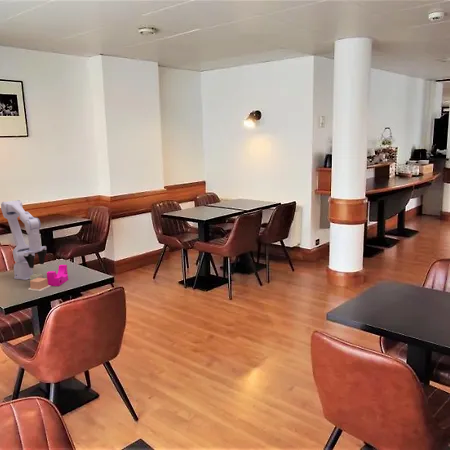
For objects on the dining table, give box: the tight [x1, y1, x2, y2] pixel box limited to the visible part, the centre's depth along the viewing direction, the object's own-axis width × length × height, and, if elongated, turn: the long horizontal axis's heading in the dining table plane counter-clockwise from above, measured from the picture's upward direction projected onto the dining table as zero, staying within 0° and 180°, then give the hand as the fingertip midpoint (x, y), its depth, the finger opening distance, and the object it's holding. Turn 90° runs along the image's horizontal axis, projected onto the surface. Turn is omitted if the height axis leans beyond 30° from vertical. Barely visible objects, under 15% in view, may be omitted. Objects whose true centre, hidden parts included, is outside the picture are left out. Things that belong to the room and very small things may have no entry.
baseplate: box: [27, 285, 52, 292], centre depth 237 cm, size 8×8×1 cm
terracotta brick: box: [29, 277, 48, 289], centre depth 237 cm, size 6×6×4 cm
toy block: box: [46, 264, 69, 287], centre depth 247 cm, size 15×6×8 cm, turn 172°
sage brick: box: [29, 273, 44, 282], centre depth 246 cm, size 4×4×4 cm
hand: (36, 265), depth 245 cm, fingers open, 7 cm apart
